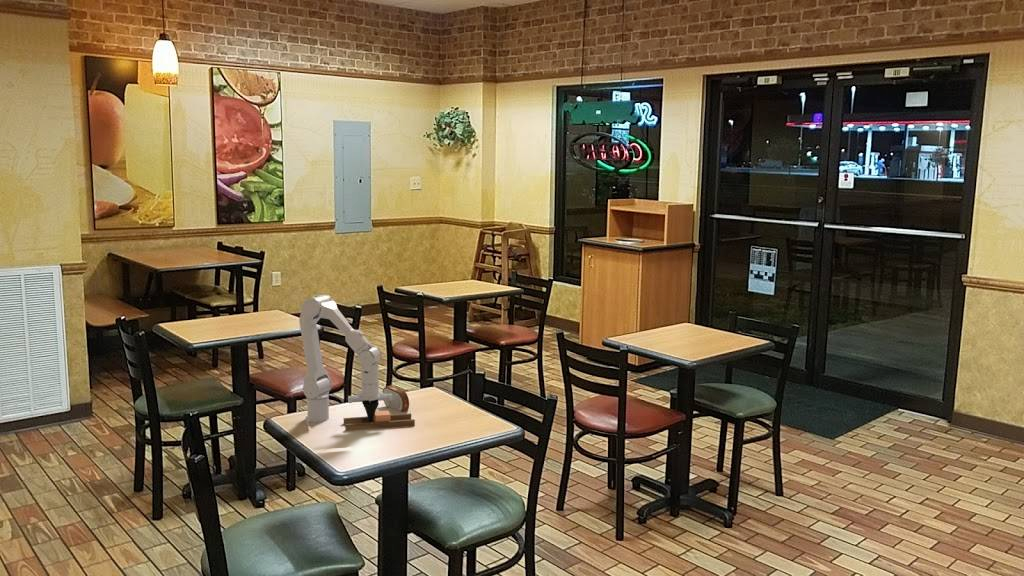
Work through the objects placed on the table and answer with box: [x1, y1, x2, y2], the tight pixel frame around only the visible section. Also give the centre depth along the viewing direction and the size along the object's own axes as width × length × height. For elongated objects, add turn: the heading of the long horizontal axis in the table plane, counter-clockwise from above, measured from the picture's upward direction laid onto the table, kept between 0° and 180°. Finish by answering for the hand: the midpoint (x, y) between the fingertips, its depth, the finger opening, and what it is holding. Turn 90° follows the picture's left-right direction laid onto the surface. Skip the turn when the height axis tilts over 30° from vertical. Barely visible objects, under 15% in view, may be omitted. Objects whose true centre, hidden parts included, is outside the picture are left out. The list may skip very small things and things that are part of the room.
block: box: [374, 410, 391, 422], centre depth 277 cm, size 5×5×4 cm
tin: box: [382, 384, 410, 412], centre depth 297 cm, size 15×3×8 cm, turn 39°
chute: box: [343, 412, 416, 432], centre depth 277 cm, size 8×23×3 cm, turn 107°
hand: (370, 421), depth 276 cm, fingers closed
